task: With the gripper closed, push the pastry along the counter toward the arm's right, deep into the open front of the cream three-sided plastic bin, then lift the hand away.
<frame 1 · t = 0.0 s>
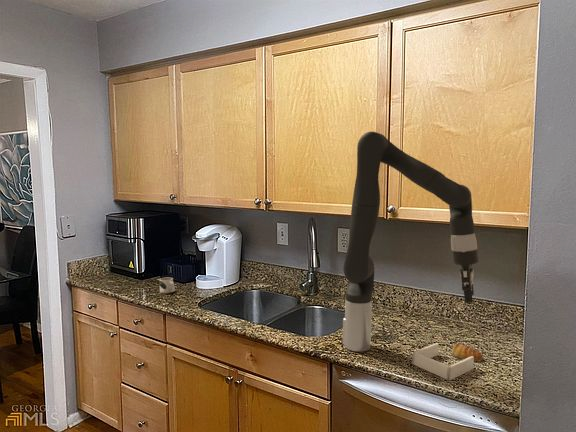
hand: (469, 298, 136), 22 cm above the counter, tool pointing down, fingers open, 8 cm apart
mug: (168, 292, 221), on the counter
bin: (443, 366, 139), on the counter
pastry: (465, 357, 146), on the counter
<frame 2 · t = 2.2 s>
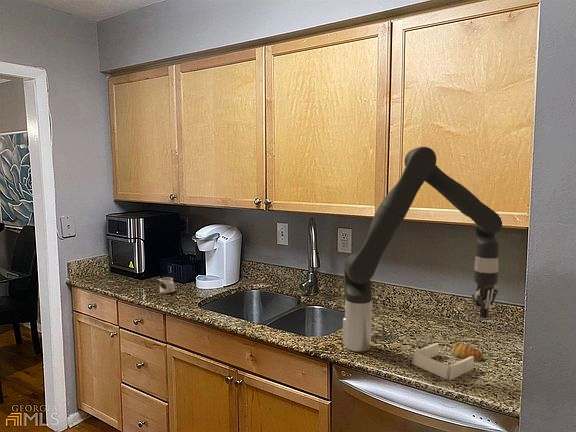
hand: (484, 317, 151), 11 cm above the counter, tool pointing down, fingers closed
nothing on the counter moved.
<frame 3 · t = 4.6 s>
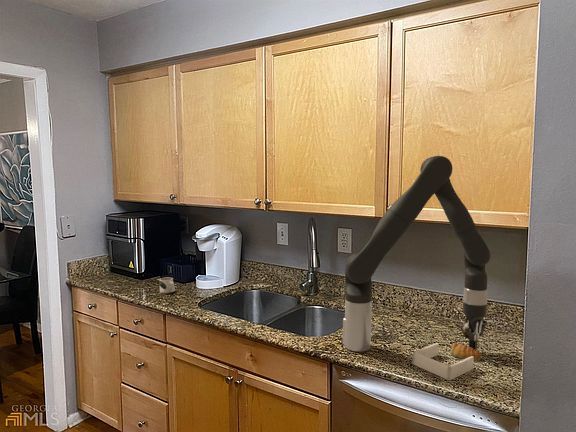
hand: (472, 349, 149), 1 cm above the counter, tool pointing down, fingers closed
pastry: (463, 356, 147), on the counter, touching gripper
everything else where it was.
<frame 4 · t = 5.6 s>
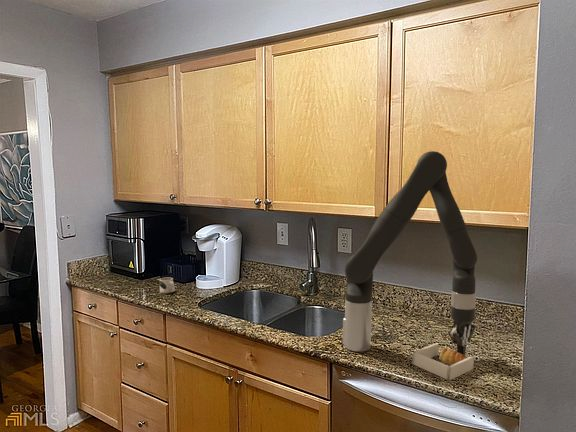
hand: (461, 354, 145), 1 cm above the counter, tool pointing down, fingers closed
pastry: (453, 362, 142), on the counter, touching gripper
everything else where it was.
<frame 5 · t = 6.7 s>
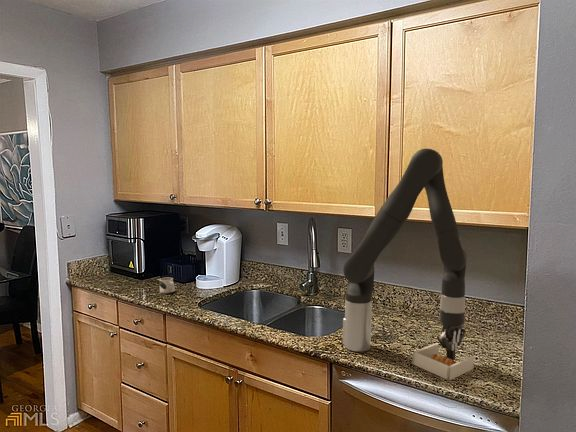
hand: (450, 359, 141), 1 cm above the counter, tool pointing down, fingers closed
pastry: (443, 368, 138), on the counter, touching gripper
everything else where it was.
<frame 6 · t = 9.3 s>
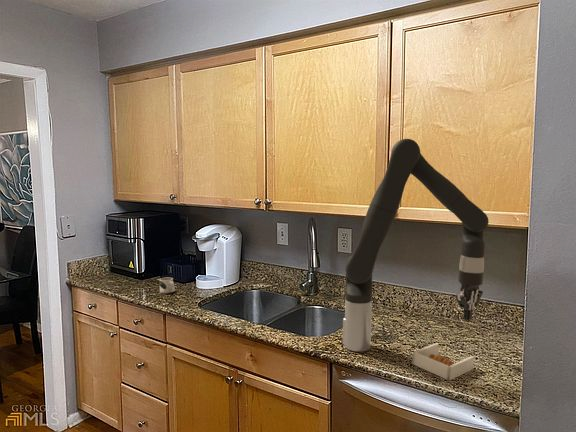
hand: (467, 319, 145), 13 cm above the counter, tool pointing down, fingers closed
pastry: (440, 369, 138), on the counter
everything else where it was.
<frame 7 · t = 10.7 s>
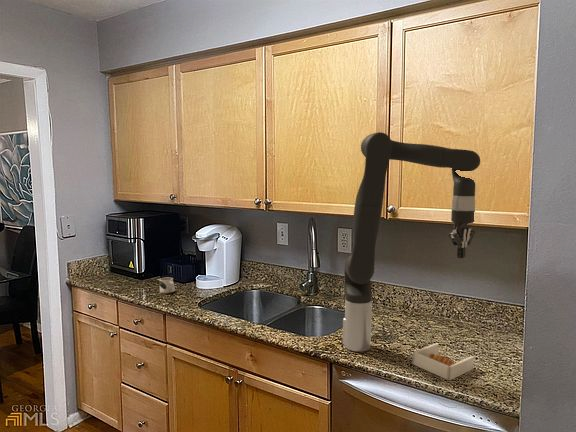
hand: (460, 257, 152), 32 cm above the counter, tool pointing down, fingers closed
nothing on the counter moved.
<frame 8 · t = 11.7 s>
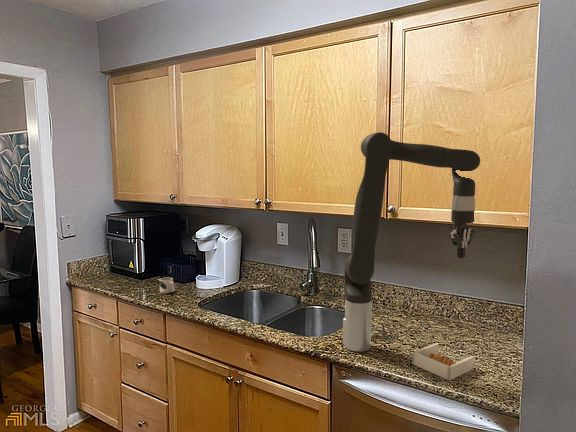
hand: (460, 257, 152), 32 cm above the counter, tool pointing down, fingers closed
nothing on the counter moved.
at the end: pastry inside the target area on the bin (0.5 cm from its centre), point -0.5 cm above the bin's base; pastry tilted 1° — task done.
